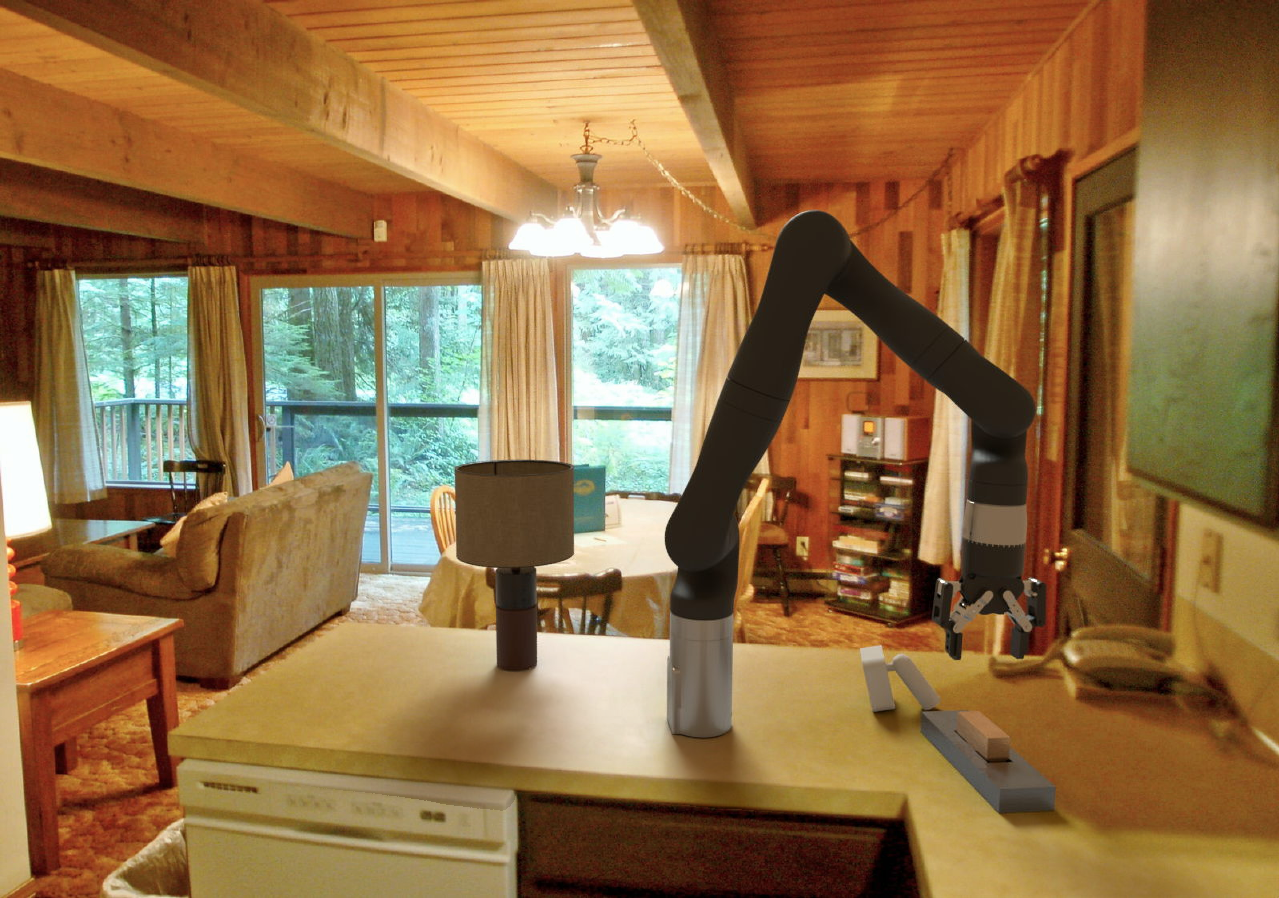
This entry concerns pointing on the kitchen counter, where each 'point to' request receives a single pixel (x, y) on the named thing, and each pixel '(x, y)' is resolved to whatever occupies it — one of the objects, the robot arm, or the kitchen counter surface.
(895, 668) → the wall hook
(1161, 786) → the kitchen counter surface
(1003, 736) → the wooden block
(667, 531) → the robot arm
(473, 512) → the lamp
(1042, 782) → the rail
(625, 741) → the kitchen counter surface
